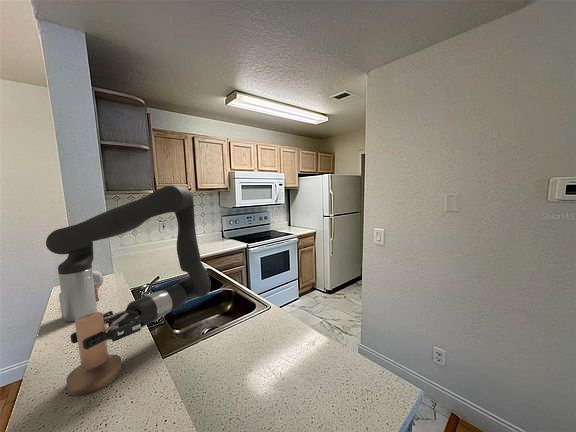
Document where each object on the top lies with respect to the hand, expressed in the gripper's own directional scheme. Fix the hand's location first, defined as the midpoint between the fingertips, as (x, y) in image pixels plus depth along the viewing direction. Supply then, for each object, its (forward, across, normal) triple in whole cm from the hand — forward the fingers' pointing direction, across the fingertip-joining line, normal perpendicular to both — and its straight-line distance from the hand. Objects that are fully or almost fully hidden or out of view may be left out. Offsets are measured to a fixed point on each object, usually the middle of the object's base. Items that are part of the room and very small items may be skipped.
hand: (77, 342), depth 53 cm
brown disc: (-2, 0, +11) cm, 11 cm away
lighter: (-26, -55, +11) cm, 62 cm away
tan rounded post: (-3, 0, +6) cm, 7 cm away
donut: (-31, -67, +11) cm, 75 cm away
